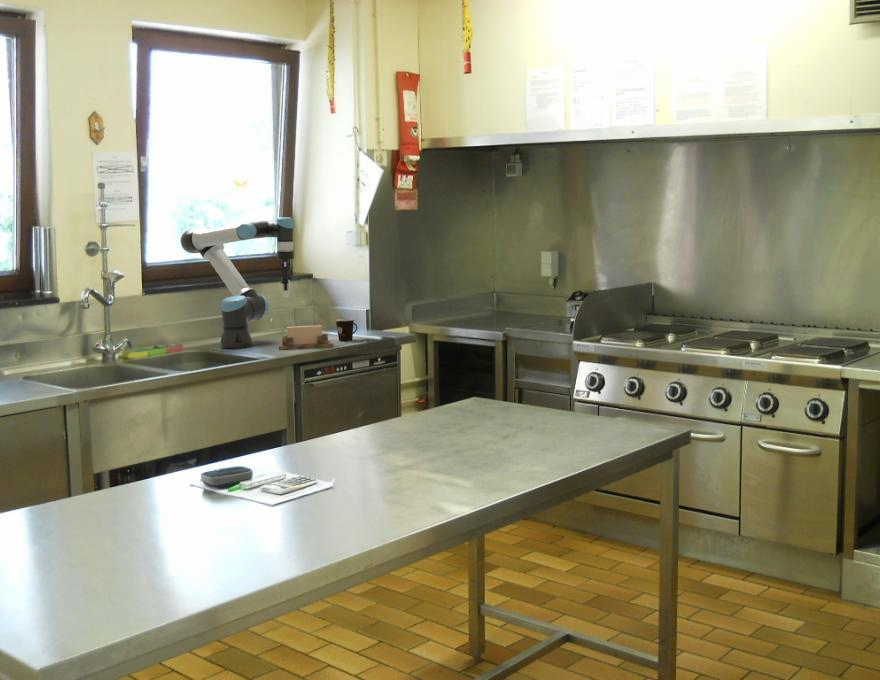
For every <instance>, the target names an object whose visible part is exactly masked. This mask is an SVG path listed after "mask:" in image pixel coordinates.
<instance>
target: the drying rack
mask: <svg viewBox="0 0 880 680" xmlns="http://www.w3.org/2000/svg"><path fill="white" fill-rule="evenodd" d="M328 335H329V334H328V333H322V336H317V343H316V344H296V345H293V337H292V338H287V335H282V337H281V338H282V339H281V342H280V343H279V346H278V350H279V351H289V349H291V350H305V349H307V350H309V349H310V348H311V349H324V348H325V349H326V347H330V348H333V344H332V340H329V336H328Z"/></svg>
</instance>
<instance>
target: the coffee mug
mask: <svg viewBox="0 0 880 680" xmlns="http://www.w3.org/2000/svg"><path fill="white" fill-rule="evenodd" d="M335 323H336V330H337V336H338V341H339V342H351V341H353V336H354V334H355V333H356V332H357V330H358V325H357V323H355V318H354V319H353V318H338V319H336V320H335ZM354 326H355V330H354Z"/></svg>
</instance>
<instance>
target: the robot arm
mask: <svg viewBox="0 0 880 680" xmlns="http://www.w3.org/2000/svg"><path fill="white" fill-rule="evenodd" d="M264 238H276V249H277V260H282V262H281V263H280V265H281V272H282V281H281V282H280V284H282V298H285V299H286V298H290V294H291V281H292V277H291V275H290V273H291V272H290V270H291V262H290V260H293V259H295V258H294V257H295V256H294V253H295V252H294V246H295V245H296V244H295V243H294V223H293V218H292V217H288V216H287V217H286V216H285V217H284V216H283V217H280V216H279V217H277V218H276V221H273V220H269V221H268V220H259V221H256V222H252V221H251V222H243V223H241V224H235V225H229V226H228V225H227V226H224V227H222V226H221V227H219V228H218V227H217V228H214V227H213V228H212V227H204V228H193V229H188V230H186V231H184V232H183V233H182V234H181V236H180V245H181V247H182V249H183V250H184V251H185V252H186V253H190V254H200V256H201V257H202V259H204V260H205V261H208V262H209V263H210V265H212V268H214V270H215V272H216V273H217V275H219V277H220V279H221V280H222V282H223V283H224V285H225V286H226V287H227V289H228V290H229V291H230V293H231V295H232V296H228V297H225V298H224V299H222V301H221V307H220V308H221V317H222V320H221V321H222V334H221V338H220V342H219V344H220V345H219V346H220V349H226V348H236V349H245V347H246V348H250V347H252V346H253V345H254V343H253V341H254V340H253V338H252V336H251V333H250V331H249V323H250V322H254V321H259V320H261V319H264V318H265V317H266V316H267V315H268V313H269V308H270V304H269V301H268V299H267V297H266V296H264V295H263V294H262V295H261V294H258V292H257V291H256V290H255V289H254V288H251V287H250V286H249V285H248V284H247V282H246V280H245V279H244V277H243V276H242V275H241V274H240V272H239V271H238V270H237V268H236V266H235V265H234V264H233V262H232V261H231V259H230V257H228V255H227V254H226V252H225V251H224V248H225V245H224V244H229V243H236V242H241V241H247V240H254V239H255V240H256V239H264Z"/></svg>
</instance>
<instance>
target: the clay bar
mask: <svg viewBox="0 0 880 680" xmlns="http://www.w3.org/2000/svg"><path fill="white" fill-rule="evenodd" d="M322 327H323V326H322V325H321V324H319V325H302V326H301V325H299V326H287V327H286V336H287V338H292V337H293V345H296V344H316V343H317V336H322V334H323V328H322Z"/></svg>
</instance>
